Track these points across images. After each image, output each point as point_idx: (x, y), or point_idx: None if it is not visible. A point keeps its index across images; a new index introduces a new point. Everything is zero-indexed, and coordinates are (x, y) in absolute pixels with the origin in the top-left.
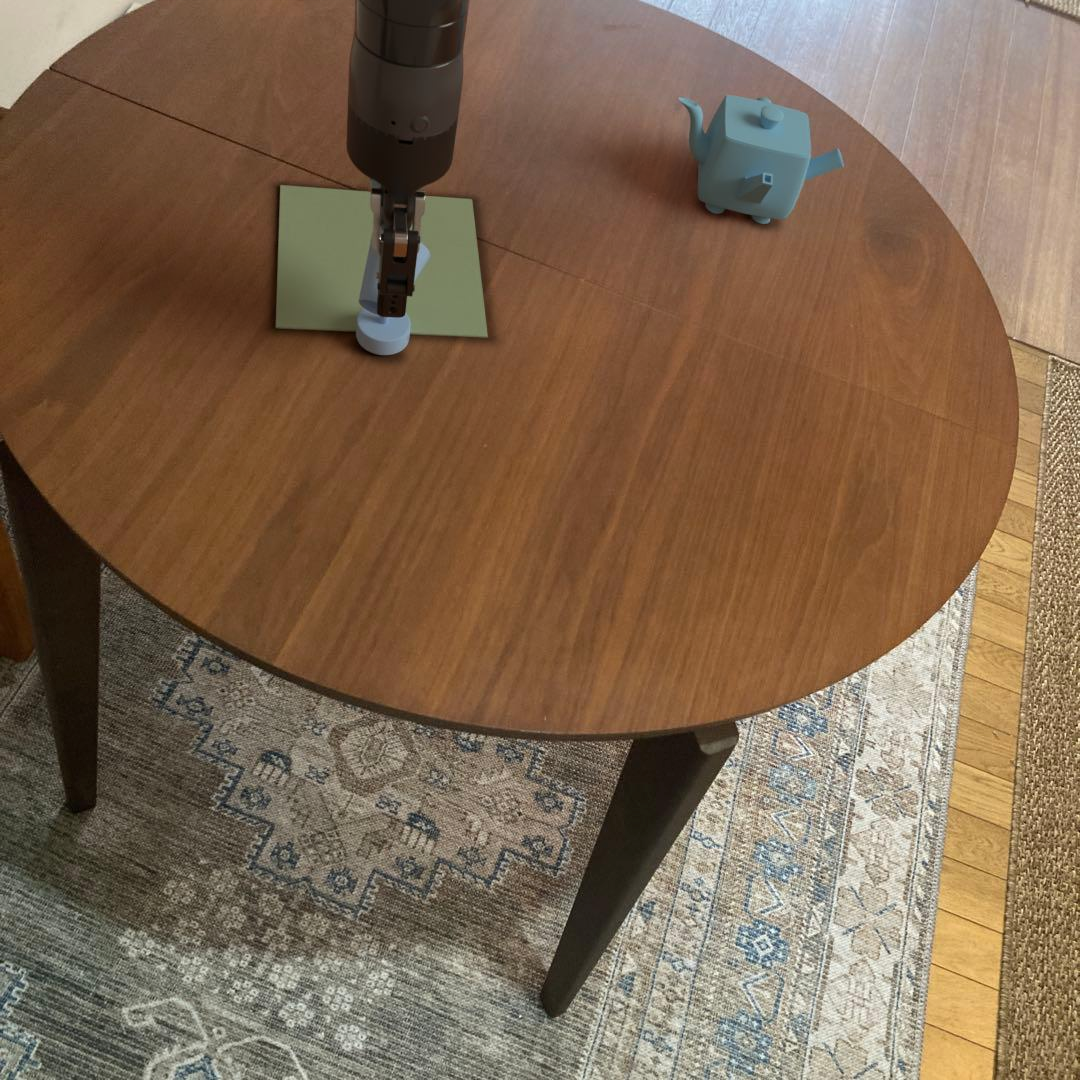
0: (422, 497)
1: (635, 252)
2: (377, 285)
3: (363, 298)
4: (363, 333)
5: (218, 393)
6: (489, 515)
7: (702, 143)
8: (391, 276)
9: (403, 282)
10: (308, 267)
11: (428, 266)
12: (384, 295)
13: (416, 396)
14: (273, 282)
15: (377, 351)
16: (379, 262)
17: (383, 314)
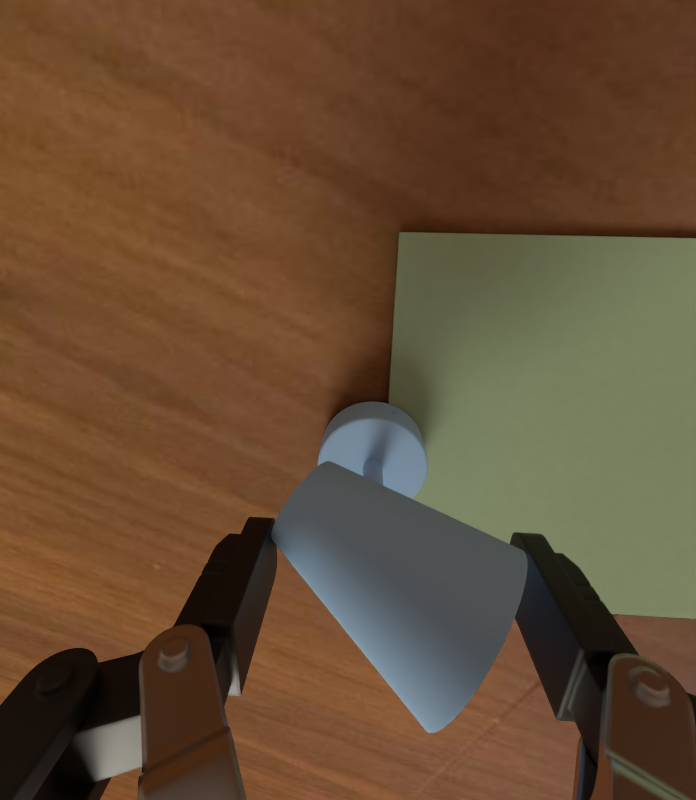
0: (36, 476)
1: (546, 781)
2: (58, 675)
3: (294, 492)
4: (338, 427)
5: (192, 91)
6: (33, 556)
7: None
8: (81, 747)
9: (48, 783)
10: (584, 310)
11: (553, 536)
12: (186, 603)
13: (239, 486)
14: (549, 225)
15: (322, 439)
16: (143, 729)
17: (221, 542)
